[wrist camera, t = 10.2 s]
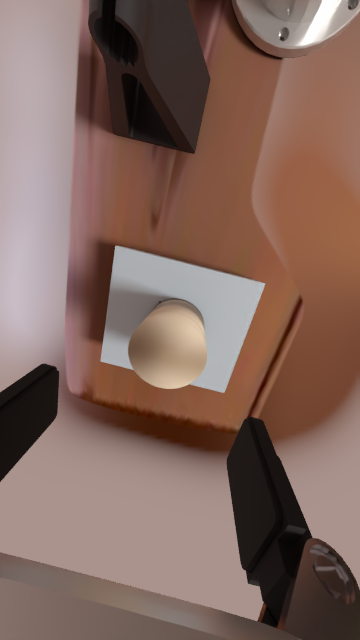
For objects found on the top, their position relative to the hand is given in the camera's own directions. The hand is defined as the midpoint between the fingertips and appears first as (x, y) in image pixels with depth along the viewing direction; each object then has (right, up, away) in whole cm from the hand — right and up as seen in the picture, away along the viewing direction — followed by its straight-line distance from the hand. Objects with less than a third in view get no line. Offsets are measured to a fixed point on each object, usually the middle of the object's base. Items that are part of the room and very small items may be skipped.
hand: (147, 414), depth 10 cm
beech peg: (+1, +5, +17) cm, 17 cm away
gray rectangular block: (+1, +5, +17) cm, 18 cm away
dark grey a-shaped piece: (0, +26, +11) cm, 29 cm away
